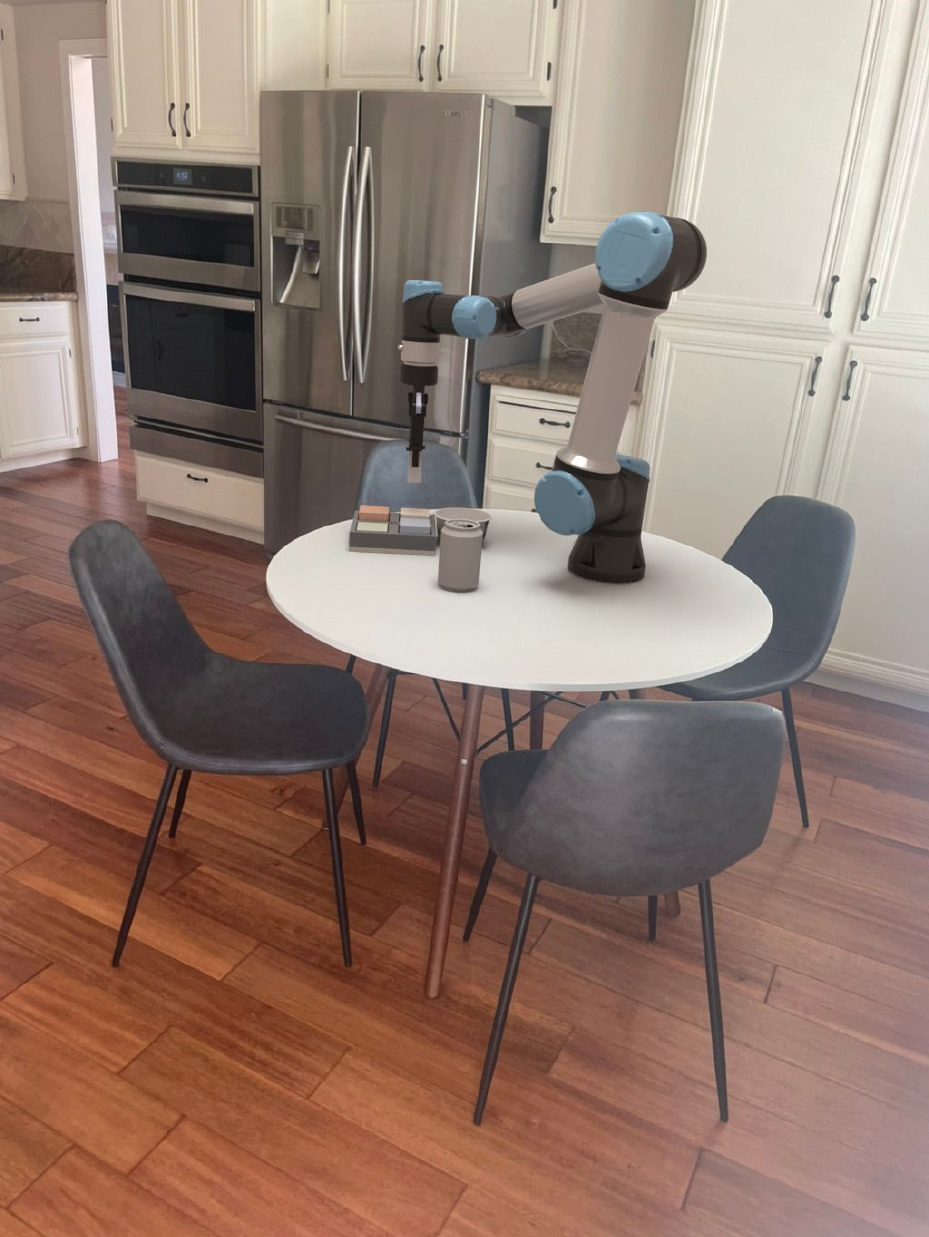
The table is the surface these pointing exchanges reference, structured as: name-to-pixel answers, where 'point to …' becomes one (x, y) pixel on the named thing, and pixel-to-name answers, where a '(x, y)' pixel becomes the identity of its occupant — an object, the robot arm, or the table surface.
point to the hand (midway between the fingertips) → (414, 481)
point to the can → (460, 555)
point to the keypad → (392, 538)
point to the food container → (462, 513)
